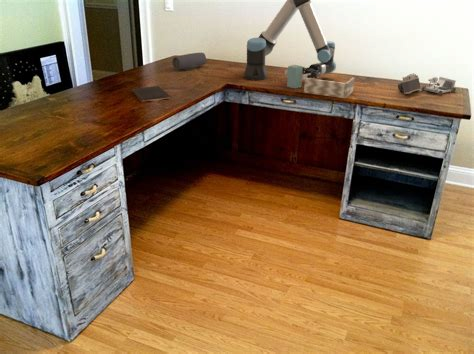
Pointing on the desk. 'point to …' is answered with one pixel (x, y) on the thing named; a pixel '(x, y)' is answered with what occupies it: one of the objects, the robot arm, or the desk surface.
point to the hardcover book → (150, 93)
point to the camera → (409, 84)
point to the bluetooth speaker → (189, 61)
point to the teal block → (294, 76)
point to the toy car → (441, 85)
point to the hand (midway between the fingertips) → (294, 75)
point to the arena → (329, 87)
